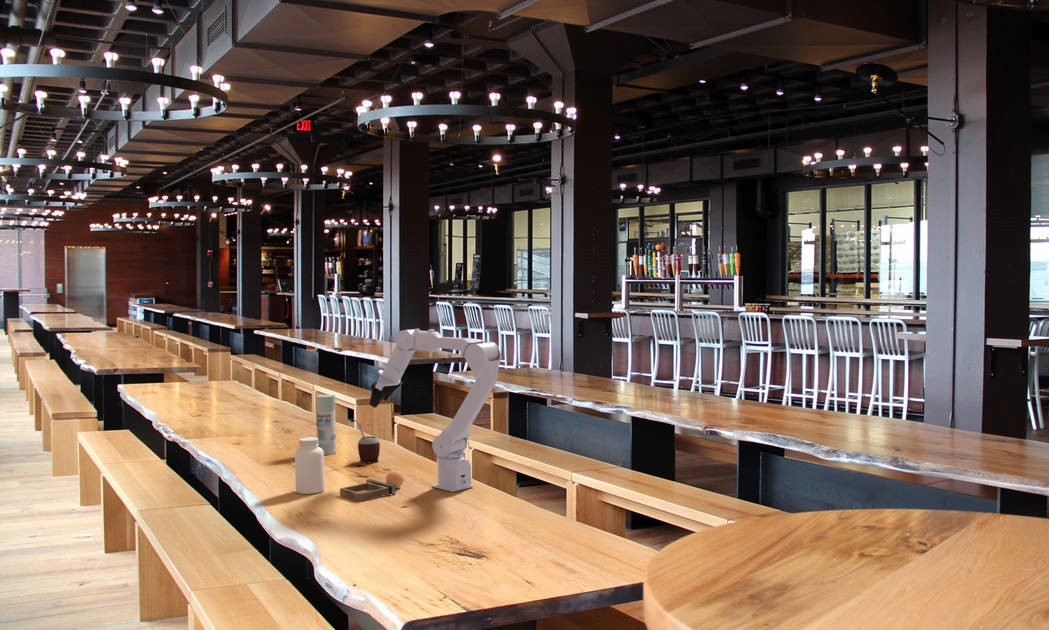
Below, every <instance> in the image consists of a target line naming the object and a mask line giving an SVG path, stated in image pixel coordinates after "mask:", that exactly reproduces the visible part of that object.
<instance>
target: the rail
mask: <svg viewBox="0 0 1049 630" xmlns="http://www.w3.org/2000/svg"><path fill="white" fill-rule="evenodd" d="M365 481H366V482H365V483H368V482H369V483H373V484H377V485H381V486H384V487H388V488H389V495H390V494H395V495H396V488H395V485H392V484H388V483H387V482H383V481H380V480H376V479H373V478H367V479H366V480H365Z"/></svg>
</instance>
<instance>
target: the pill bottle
mask: <svg viewBox="0 0 1049 630" xmlns="http://www.w3.org/2000/svg"><path fill="white" fill-rule="evenodd" d="M298 445H299V448H298V449H297V450H296V451H295V453H294V463H295V464H294V468H295V471H294V473H295V475H294V477H295V492H296V493H298V494H299V495H300V494H302V495H313V494H314V493H315V494H318V493H322V492H324V490H325V455H324V452H323V450H322V449H321V448H320V447H318V446H319V444H318V438H317V436H316V437H315V436H311V437H309V436H308V437H303V438H299V439H298Z"/></svg>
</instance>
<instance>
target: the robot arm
mask: <svg viewBox="0 0 1049 630" xmlns="http://www.w3.org/2000/svg"><path fill="white" fill-rule="evenodd" d="M395 343H396V344H395V346H394V348H393V350H392V352H391V354H390V357H389V358H388V360H387V363H386V364H385V365H384V366H385V367H384V369H383V370H382V369H379V370H378V372H377V374H378V375H379V378H378V381H377V382H376V381H373V382H372V383H371V386H370V389H371V394H370V399H369V405H370V406H371V407H372V408H374V409H375V408H377V407H378V406H379V404H380V403H381V402H382V400H384V401H385V402H386V401H388V399H389V398H390V397H391V396H392V395H393V393H394V392H395V391H396V390H397V389H398V388H399V387H401V386H402V385H403V383H404V382H403V381H402V380H401V379H402V377H403V375H404V373H405V371H406V369H407V367H408V366H409V363H410V362H411V359H412V357H413V355H414V353H415V352H416V350H417V351H423V352H424V351H425V352H435V353H436V352H439V350H440V349H445V350H453V351H460V356H461V357H464V360H465V362H466V364H467V365H468V367H469V368H470V370H471V371H472V374H473V375H474V376H475V380H474V382H473V385H472V386H471V387H470V390H469V392H468V393H467V395H466V397H465V398H464V400H463V401H462V404H461V405H460V407H459V409H458V410H457V412H456V413H455V416H454V417H453V418H452V421H451V422H450V424H448V425H447V426H446V427H445V428H443V430H442V431H441V433H440V434H438V435H436V436H435V437H434V439H433V440H432V445H431V446H432V450H433V452H434V454H435V455H436V458H437V483H435V484H431V487H432V488H437V489H441V490H445V491H448V492H459V491H462V490H466V489H471V488H473V487H474V485H473V484H472V471H471V470H472V467H471V466H472V465H471V463H470V461H469V460H468V459H466V458H465V457H464V451H465V450H466V448H467V446H468V440H469V437H470V436H471V433H470V428H471V426H472V425H473V423H474V421H475V420H476V418H477V416H478V414H479V413H480V411H481V410H482V408H483V406H484V405H485V403H486V401H487V400H488V398H489V397H490V395H491V392H492V391H493V390H494V387H495V386H496V384H497V382H498V376H499V369H500V368H499V367H500V362H501V361H502V357H503V356H502V353H501V350H500V347H499V346H498V345H497V344H496V343H495V342H493V341H486V340H484V339H479V338H470V337H455V336H454V337H450V336H442V335H441V334H440V332H438V331H435V329H430V328H429V329H428V330H420V328H414V329H412V328H411V329H404V330H400V331H398V332H397V334H396V336H395Z"/></svg>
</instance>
